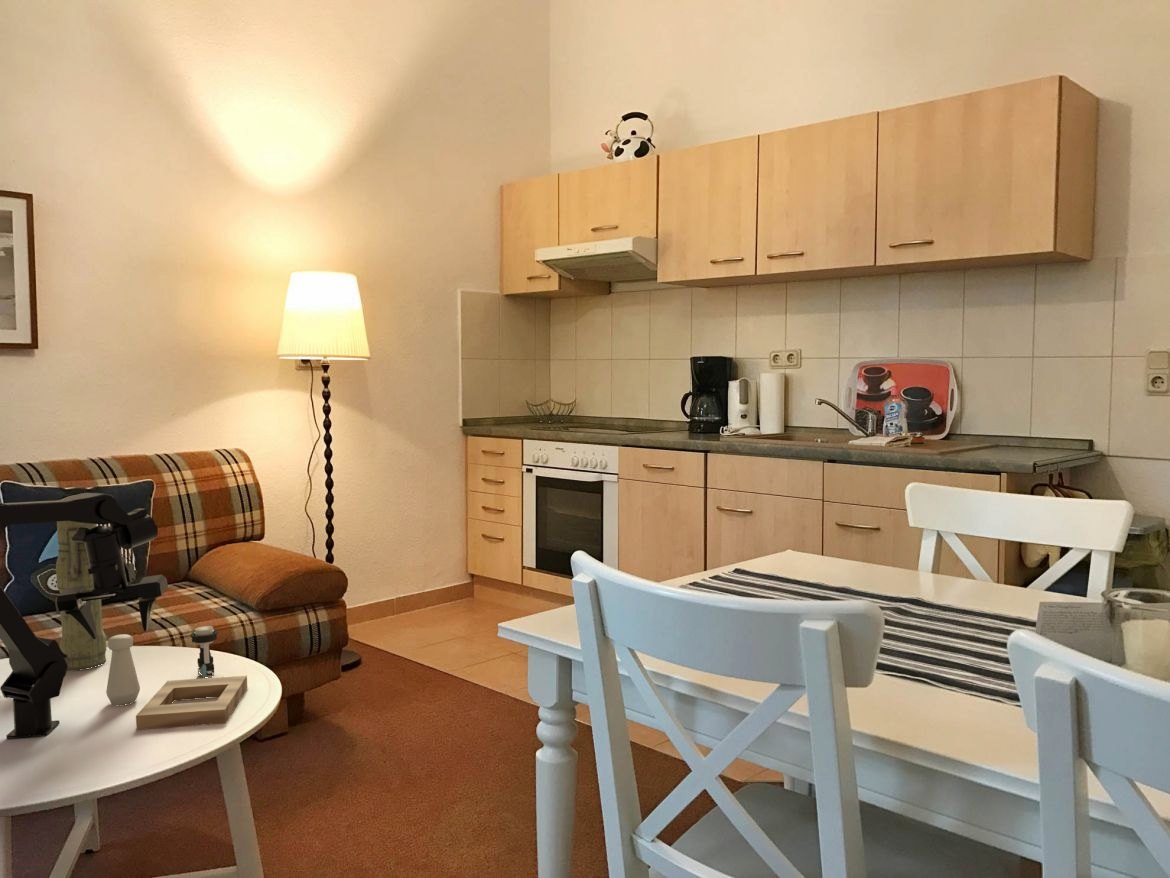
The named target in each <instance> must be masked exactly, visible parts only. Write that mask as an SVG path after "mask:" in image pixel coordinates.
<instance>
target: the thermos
mask: <svg viewBox="0 0 1170 878" xmlns="http://www.w3.org/2000/svg"><path fill="white" fill-rule="evenodd" d="M96 526H98V524H89V523H78V522H69V521H57V522H56V530H57V533H56V534H57V535H56V536H57V544H58V547H59V548H58V555H57V559H56V562H55V572H56V573H55V576H56V577H55V578H56V589H57V590H58V591H59V594H60V593H61V592H62V591H63V590H64V589H65V588H71V587H78V586H85V587H86V588H87V591H89V590H93V589H94V585H93V581H92V576H91V574H89V573H88V569H89V568H90V566H89V562H88V557H87V552H86V547H85V543H84V542H76V541H72V537H73V536H74V535H75V534H76V533H77V531H78V529H79V528H80V527H83V528H88V529H90V528H93V527H96ZM91 612H92V616H93V619H94V623H95V626H96V630H97V638H96V639H93V638H92V637H91V635H90V634H89V633H88V632H87V631H86V629H85V628H84V627H83V626H82V625H81V624H80V623H79V622H78V621H77V620H76V619H75V618H74V617H73V616H72V615H70V614H68V615H66V614H65V611H60V621H61V622H60V623H61V639H60V641H59V647H60V649H61V651H62V652H63V653H64V654H66V655H67V656H68V657H66V658H64V659H65V660H66V662H67V664H68V669H67V671H69V670H76V671H81V670H80V669H86V668H91V667H95V666H98V665H101V664H103V663H105V662H106V663H107V657H106V652H107V636H106V634H105V631H104V629H103V614H102V613H103V609H102V599H96V600H91ZM106 663H105V664H106ZM101 666H102V665H101ZM95 668H96V667H95ZM91 669H92V668H91ZM86 670H87V669H86Z"/></svg>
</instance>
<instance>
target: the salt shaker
mask: <svg viewBox="0 0 1170 878" xmlns="http://www.w3.org/2000/svg"><path fill="white" fill-rule="evenodd" d="M133 645H134V639H133V636H132V635H130V634H122V633H121V634H116V635H114V636H110V638H108V641H107V646H108V649H109V651H111V660H110V665H109V672H108V679H107V686H106V690H105V691H106V692H105V693H106V696H107V698H108V700H109V702H110V704H111V706H113V705H119V706H118V707H121V706H120V705H124V706H126V705H125V704H129V705H131V704H130V703H132V702H133V703H135V702H136V701H137V698H138V696H139V693H140V692H141V686H140V682H139V678H138V675H137V671H136V667H135V664H134V662H135V661H134V660H133V656H132V655H133V654H132V652H131V651H132V650H131V648H132V647H133ZM135 700H136V701H135ZM134 701H135V702H134ZM133 703H132V704H133Z"/></svg>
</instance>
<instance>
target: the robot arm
mask: <svg viewBox="0 0 1170 878" xmlns="http://www.w3.org/2000/svg"><path fill="white" fill-rule="evenodd" d="M57 521H69V522H78V523H89V524H97V526H96V527H93V528H90V529H88V528H83V527H80V528H79V529H78V531H77V533H76V534H75V535H74V536H73V537H72V541H76V542H84V543H85V547H86V552H87V557H88V562H89V566H90V568H89V569H88V573H89V574H91V576H92V581H93V585H94V589H93V590H89V591H87V588H86V587H85V586H78V587H71V588H65V589H64V590H63V591H62V592H61V593H60V592H59V594H58V595H57V596H56V598H55V599H54V604H55V605H54V606H55V609H56V612H61V611H65V614H66V615H68V614H70V615H72V616H73V617H74V618H75V619H76V620H77V621H78V622H79V623H80V624H81V625H82V626H83V627H84V628H85V629H86V631H87V632H88V633H89V634H90V635H91V637H92V638H93V639H96V638H97V630H96V626H95V623H94V619H93V616H92V612H91V600H96V599H101V600H103V599H109V598H117V597H122V596H123V597H124V596H129V595H137V597H140V599H139V600H138V602H137V603H138V609H139V614H140V615H139V616H140V620H141V627H142V629H143V632H148V630H149V625H150V624H149V623H150V618H151V612H152V608H153V604H154V602H156V601H157V600H158V599H159V597H162V596H163V594H164V593H165V592H166V590H167V589H168V588H169V585H168V579H167V578H166V576H164V575H163V574H157V575H155V574H154V575H150V576H144V577H143V578H142V579H141V580H140V581H139V582H138V583H131V582H132V581H134V580H136V570H135V563H131V562H128V563H127V562H126V558H125V556H124V555H123V554H122V549H123V550H130V549H133V548H135V547H138V546H139V547H140V546H142V545H143V544H146V543H150V542H152V541H154V540H155V539H156V538H157V537H158V533H159V530H158V524H156V522H155V520H154V519H153V517H152V516H151V515H149V514H148V511H147V509H146V508H140V507H139V508H135V509H133V510H131V511H130V512H126V511H125V510H124V509H123V508H121V506H119V505H118V502H117V500H116V499H115V497H114V496H113V495H112V494H109V493H97V492H96V493H95V492H81V493H79V494H74V495H69V496H67V497H64V498H62V499H61V498H60V499H58V500H41V501H24V502H23V501H20V502H18V501H17V502H0V538H1V537H2V536H3V532H4V530H5V529H6V528H7V527H8V526H10V525H11V526H13V525H24V524H25V525H27V524H41V523H55V522H56V523H57ZM108 524H109V525H110V526H104V525H108ZM121 548H122V549H121ZM128 583H131V584H128ZM0 641H1V642H2V643H3V644H4V646H5V647H6V648H7V651H8V661H9V662H8V663H9V666H10V668H11V670H12V671H11V673H10V674H9V675H8V676H7V677H6V679H5V680H4V682H3V683H1V684H2V685H1V686H0V691H1V693H2V696H3V698H6V699H7V698H9V699H12V708H13V709H12V710H13V711H12V712H13V725H14V727H13V729H12V730H11V731H10V732H8V733H7V734H6V735H5V736H6V737H7V738H6V739H10V738H9V737H19V738H30V737H31V738H32V737H43V736H47V735H48V734H49V733H50V732H52V731H53V730H54V729H55V728H56V727H57V726H58V725H60V720H52V703H51V702H52V700H51V699H54V698H56V697H59V696H60V693H61V689H62V686H63V683H64V679H65V677H66V676H67V671H68V670H67V669H68V664H67V662H66V660H65V659H64V658H66V657H68V656H67V655H66V654H64V653H63V652H62V651H61V649H60V644H59V643H58V642H57V640H56V639H50V638H45V637H39V636H37V635H36V634H35V632H34V631H33V630H32V629H31V627H30V625H29V624H28V623H27V621H26V620H25V618H24V617H23V615H22V614H21V612H20V611H19V610H18V608H17V606H15V604H14V603H13V601H12V600H11V599H10V598H9V596H8V594H7V593H6V591H5V590H4V588H3V587H2V586H1V585H0Z"/></svg>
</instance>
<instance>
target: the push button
mask: <svg viewBox="0 0 1170 878" xmlns="http://www.w3.org/2000/svg"><path fill="white" fill-rule="evenodd" d="M218 634H219V632H218V630H217V629H214V626H212V625H206V626H205V625H204V626H199V627H196V628H195V629H194V632H191V633H190V634H189V635H190V638H191V642H192V643H194V644H195V645H200V647H199V654H198V655H199V657H198V658H197V661H196V662H197V667H198V668H197V676H198V675H199V676H200V673H201V674H202V676H203V677H204V678H205V677H208V678H213V677H212V676H214V674H215V664H214V656H212V652H211V647H210V644H212V643H214V642H215V641H216V640H217V639H218ZM199 672H200V673H199ZM213 673H214V674H213ZM202 676H201V677H202ZM203 677H202V678H203Z"/></svg>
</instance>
